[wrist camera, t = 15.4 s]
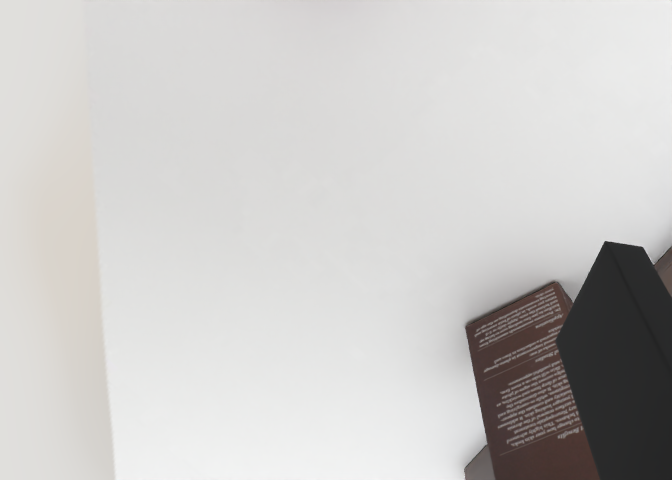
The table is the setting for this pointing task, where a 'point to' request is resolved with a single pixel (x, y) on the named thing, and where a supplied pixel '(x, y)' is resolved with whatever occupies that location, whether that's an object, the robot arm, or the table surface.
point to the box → (529, 391)
